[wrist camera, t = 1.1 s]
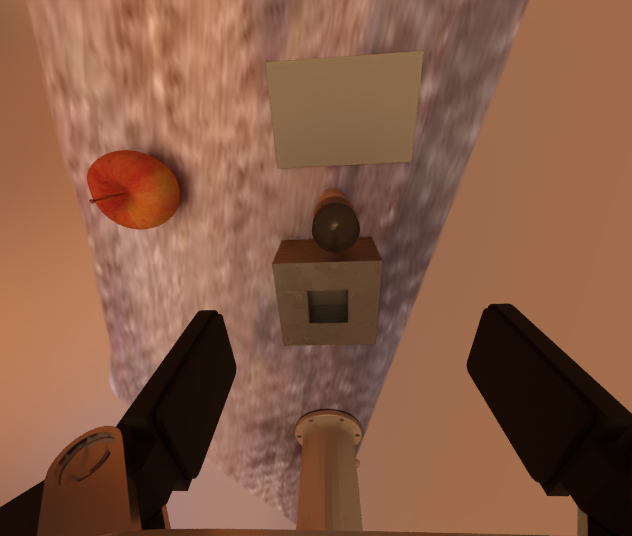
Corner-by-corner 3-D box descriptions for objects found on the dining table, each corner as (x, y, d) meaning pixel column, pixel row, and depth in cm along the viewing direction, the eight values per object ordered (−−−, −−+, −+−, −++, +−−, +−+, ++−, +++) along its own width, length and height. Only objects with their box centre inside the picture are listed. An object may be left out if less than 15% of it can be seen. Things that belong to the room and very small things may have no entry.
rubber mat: (409, 161, 27) (411, 161, 26) (278, 167, 28) (277, 168, 27) (421, 52, 23) (423, 50, 22) (267, 63, 24) (265, 62, 23)
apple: (203, 209, 30) (166, 232, 23) (147, 221, 31) (95, 246, 24) (176, 141, 27) (123, 143, 20) (114, 156, 28) (41, 163, 21)
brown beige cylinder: (355, 206, 29) (368, 236, 20) (327, 224, 30) (329, 260, 22) (337, 177, 28) (343, 197, 19) (309, 197, 29) (302, 224, 20)
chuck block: (367, 310, 36) (375, 344, 30) (290, 312, 37) (283, 345, 31) (371, 237, 31) (382, 260, 25) (281, 240, 32) (272, 264, 26)
